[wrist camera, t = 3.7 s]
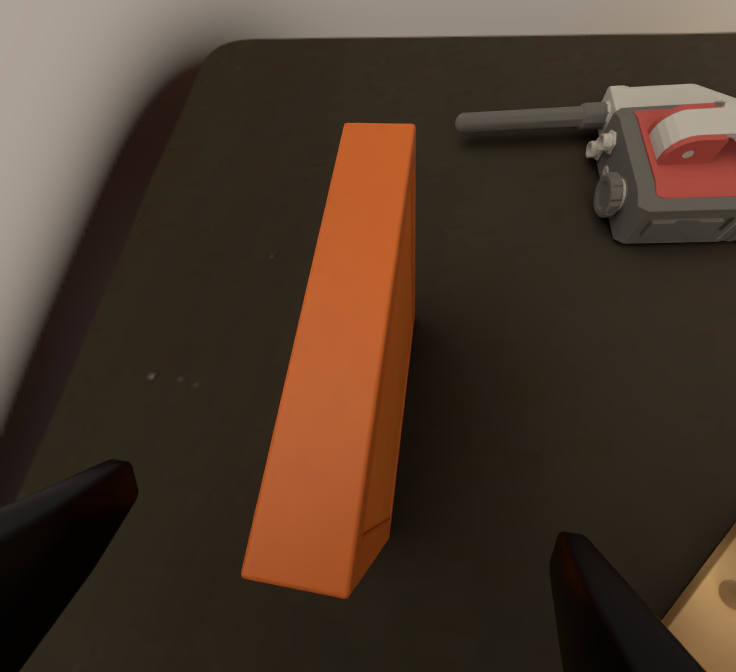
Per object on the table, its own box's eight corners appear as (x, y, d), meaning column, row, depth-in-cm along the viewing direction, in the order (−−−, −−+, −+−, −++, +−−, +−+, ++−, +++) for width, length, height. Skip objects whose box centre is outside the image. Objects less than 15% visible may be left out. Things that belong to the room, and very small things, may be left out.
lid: (389, 539, 16) (348, 601, 6) (345, 531, 16) (237, 579, 6) (414, 316, 20) (416, 122, 10) (378, 312, 20) (343, 121, 10)
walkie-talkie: (824, 109, 22) (452, 129, 24) (918, 20, 18) (460, 54, 20) (897, 244, 19) (457, 253, 21) (1031, 173, 15) (468, 193, 17)
